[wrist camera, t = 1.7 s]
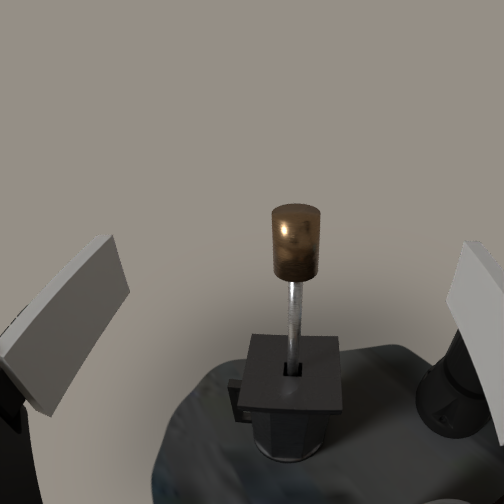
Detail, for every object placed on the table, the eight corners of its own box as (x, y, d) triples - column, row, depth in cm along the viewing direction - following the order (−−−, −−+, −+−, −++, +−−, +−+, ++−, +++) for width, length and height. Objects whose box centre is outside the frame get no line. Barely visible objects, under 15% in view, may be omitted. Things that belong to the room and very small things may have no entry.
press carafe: (324, 405, 44) (338, 336, 36) (323, 463, 35) (342, 409, 27) (244, 401, 46) (233, 332, 38) (232, 458, 37) (214, 403, 29)
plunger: (322, 366, 36) (339, 196, 25) (322, 414, 30) (351, 236, 19) (264, 364, 38) (254, 195, 27) (257, 412, 31) (239, 234, 20)
